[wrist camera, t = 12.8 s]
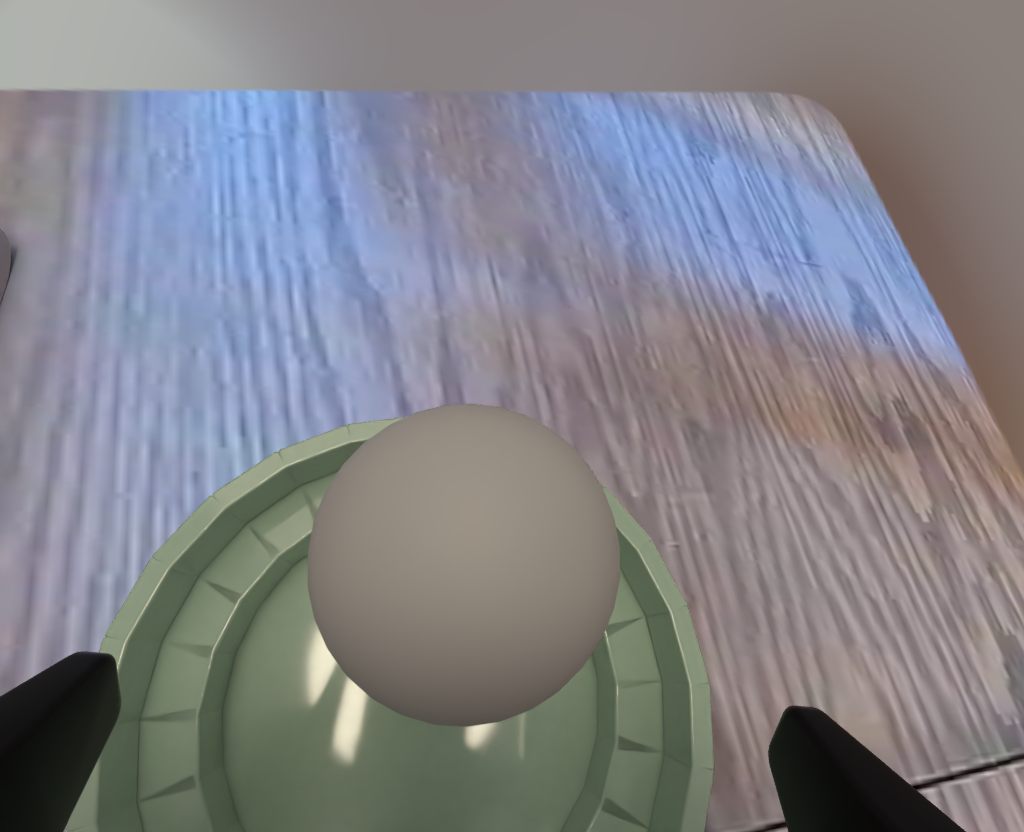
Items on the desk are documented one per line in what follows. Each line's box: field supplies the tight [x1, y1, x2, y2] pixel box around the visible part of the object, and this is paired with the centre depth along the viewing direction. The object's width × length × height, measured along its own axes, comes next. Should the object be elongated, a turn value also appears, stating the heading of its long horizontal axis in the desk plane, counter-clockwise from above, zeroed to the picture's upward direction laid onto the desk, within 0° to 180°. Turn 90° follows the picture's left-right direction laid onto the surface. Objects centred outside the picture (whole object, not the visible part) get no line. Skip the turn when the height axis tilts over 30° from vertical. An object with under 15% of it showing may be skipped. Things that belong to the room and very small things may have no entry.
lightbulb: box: [308, 404, 620, 727], centre depth 14 cm, size 6×6×11 cm
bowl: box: [67, 417, 714, 832], centre depth 16 cm, size 15×15×4 cm
